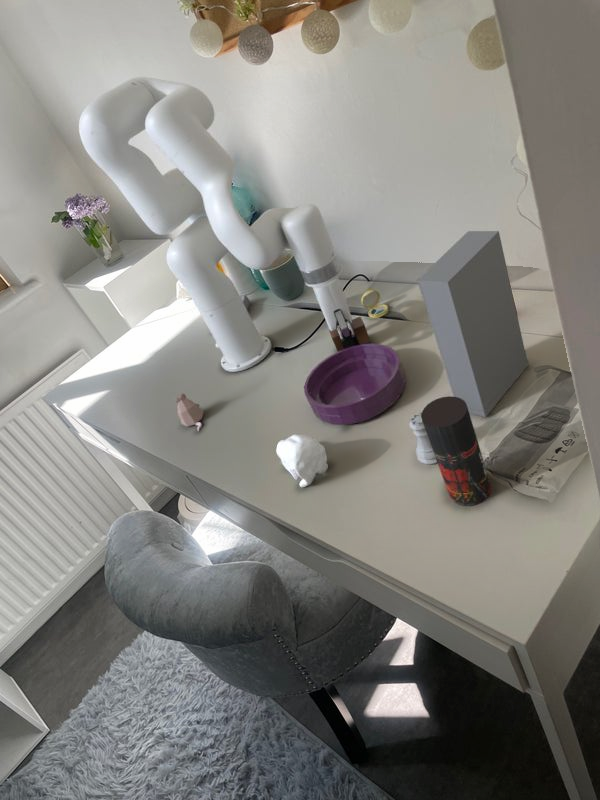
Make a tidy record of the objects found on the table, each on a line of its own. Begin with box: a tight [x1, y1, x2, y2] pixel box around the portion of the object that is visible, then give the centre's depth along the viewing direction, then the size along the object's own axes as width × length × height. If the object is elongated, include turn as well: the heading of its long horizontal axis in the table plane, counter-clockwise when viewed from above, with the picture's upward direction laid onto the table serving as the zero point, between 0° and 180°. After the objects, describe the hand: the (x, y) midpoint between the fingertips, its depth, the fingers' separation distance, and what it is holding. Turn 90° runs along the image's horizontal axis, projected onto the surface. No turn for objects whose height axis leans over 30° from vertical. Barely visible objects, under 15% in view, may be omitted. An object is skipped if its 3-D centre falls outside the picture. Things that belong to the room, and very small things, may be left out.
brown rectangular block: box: [328, 316, 373, 352], centre depth 126 cm, size 7×4×6 cm, turn 96°
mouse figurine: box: [174, 392, 204, 432], centre depth 128 cm, size 5×8×7 cm, turn 21°
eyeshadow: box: [360, 289, 389, 319], centre depth 134 cm, size 4×5×5 cm
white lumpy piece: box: [275, 434, 329, 488], centre depth 102 cm, size 6×8×12 cm
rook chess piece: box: [408, 411, 438, 465], centre depth 93 cm, size 4×4×8 cm
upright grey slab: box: [416, 230, 530, 418], centre depth 95 cm, size 14×6×25 cm, turn 134°
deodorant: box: [421, 395, 492, 507], centre depth 83 cm, size 6×6×15 cm
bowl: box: [303, 343, 407, 426], centre depth 113 cm, size 18×18×5 cm
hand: (349, 341), depth 127 cm, fingers open, 9 cm apart
